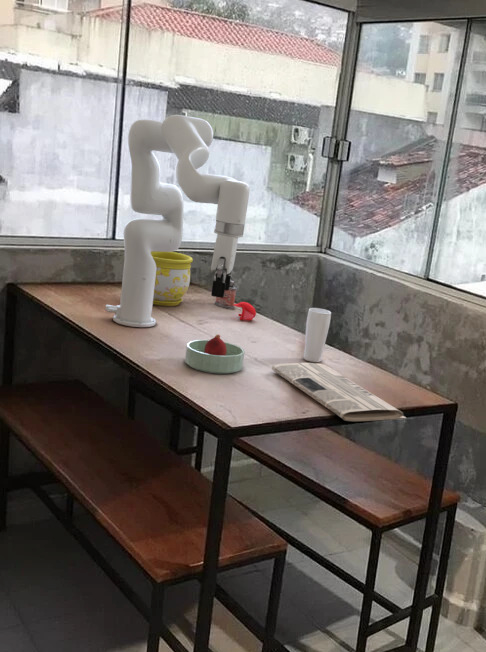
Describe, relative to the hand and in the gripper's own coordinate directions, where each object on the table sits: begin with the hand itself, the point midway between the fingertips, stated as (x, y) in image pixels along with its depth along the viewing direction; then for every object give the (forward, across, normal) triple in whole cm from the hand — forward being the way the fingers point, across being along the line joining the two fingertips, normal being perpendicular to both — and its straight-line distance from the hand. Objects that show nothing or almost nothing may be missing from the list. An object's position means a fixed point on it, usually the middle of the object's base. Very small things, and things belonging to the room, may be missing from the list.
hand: (220, 293), depth 213 cm
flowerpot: (+21, -64, -27) cm, 73 cm away
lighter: (+21, -73, -6) cm, 76 cm away
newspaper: (+19, +11, +34) cm, 41 cm away
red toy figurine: (+20, -57, +2) cm, 61 cm away
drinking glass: (+20, -19, +27) cm, 38 cm away
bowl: (+19, +2, +1) cm, 19 cm away
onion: (+19, +2, +1) cm, 19 cm away
